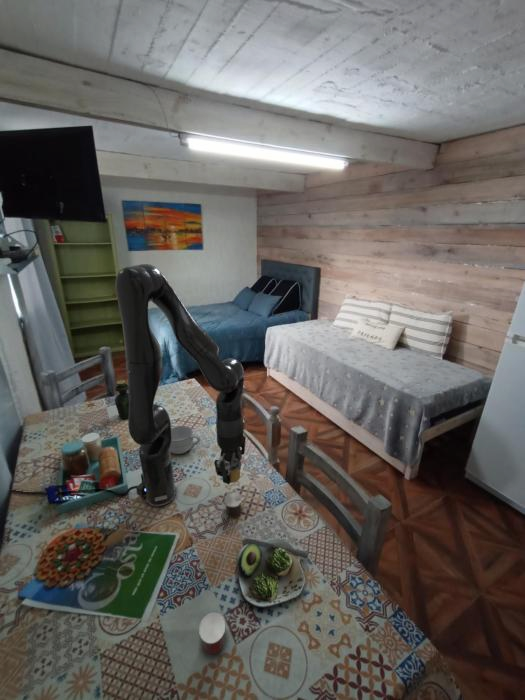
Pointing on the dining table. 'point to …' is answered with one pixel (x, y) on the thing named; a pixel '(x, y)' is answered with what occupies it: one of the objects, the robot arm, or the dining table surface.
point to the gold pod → (235, 470)
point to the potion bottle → (122, 399)
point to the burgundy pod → (212, 632)
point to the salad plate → (269, 572)
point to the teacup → (182, 439)
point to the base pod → (233, 504)
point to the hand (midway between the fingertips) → (232, 475)
